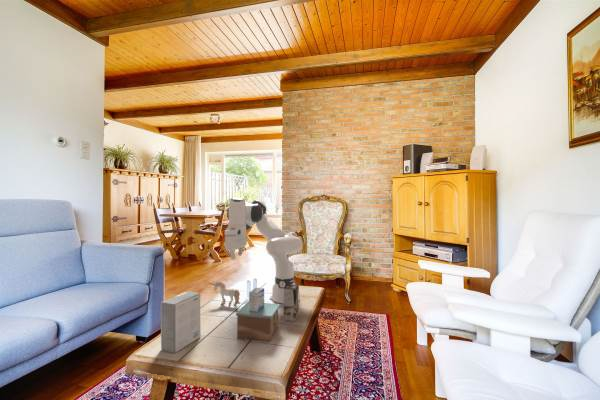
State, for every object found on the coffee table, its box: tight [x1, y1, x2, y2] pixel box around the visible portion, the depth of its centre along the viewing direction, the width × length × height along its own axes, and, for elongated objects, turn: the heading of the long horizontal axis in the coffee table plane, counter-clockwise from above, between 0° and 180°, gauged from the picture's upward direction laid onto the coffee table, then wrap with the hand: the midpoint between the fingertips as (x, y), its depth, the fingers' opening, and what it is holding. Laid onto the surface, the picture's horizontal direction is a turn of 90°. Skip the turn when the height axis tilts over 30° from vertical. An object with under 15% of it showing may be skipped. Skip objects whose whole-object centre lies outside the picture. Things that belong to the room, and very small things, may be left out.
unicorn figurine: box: [207, 281, 241, 307], centre depth 172 cm, size 7×20×13 cm, turn 82°
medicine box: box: [248, 287, 265, 312], centre depth 135 cm, size 8×4×9 cm, turn 165°
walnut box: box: [236, 310, 279, 343], centre depth 135 cm, size 14×15×10 cm
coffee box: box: [283, 284, 300, 322], centre depth 154 cm, size 9×6×16 cm
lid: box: [235, 301, 281, 319], centre depth 135 cm, size 16×16×1 cm
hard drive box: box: [160, 290, 202, 354], centre depth 125 cm, size 16×8×20 cm, turn 159°
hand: (236, 257), depth 148 cm, fingers open, 8 cm apart
